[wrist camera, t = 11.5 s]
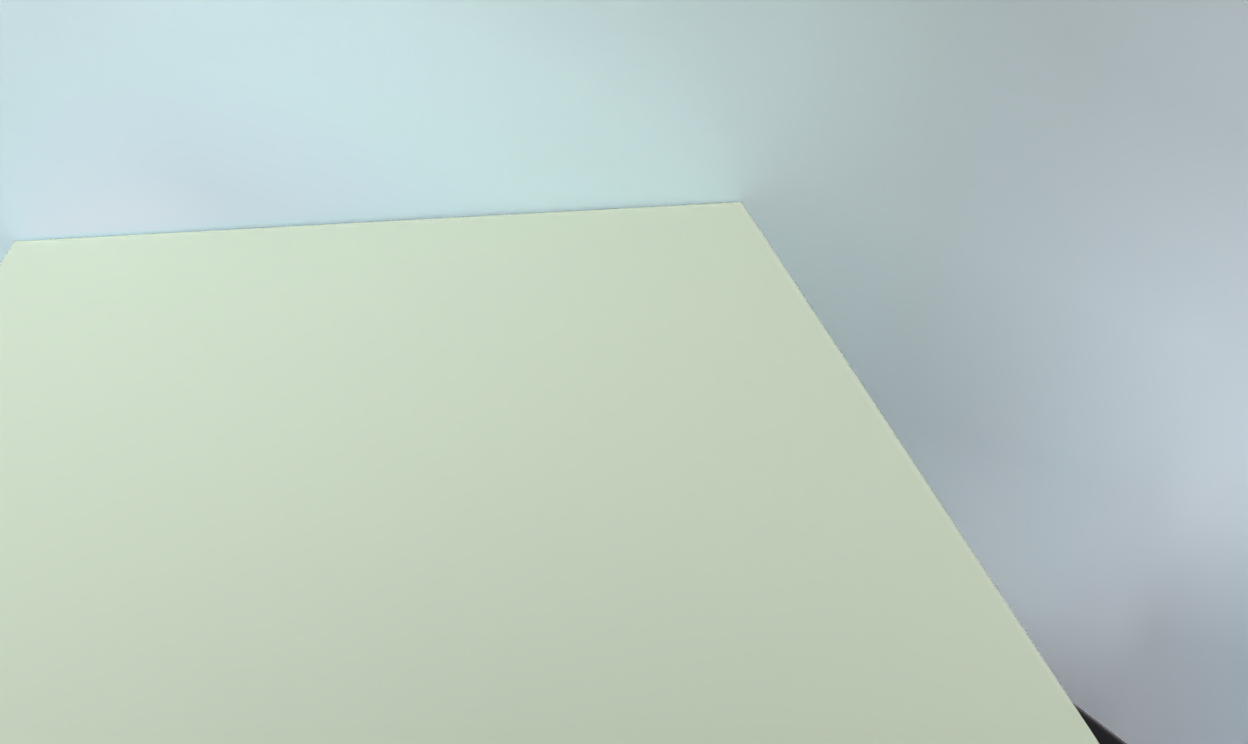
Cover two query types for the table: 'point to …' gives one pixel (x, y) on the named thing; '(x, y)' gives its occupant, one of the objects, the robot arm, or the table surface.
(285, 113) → the table surface
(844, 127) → the table surface
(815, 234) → the table surface
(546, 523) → the sage block
